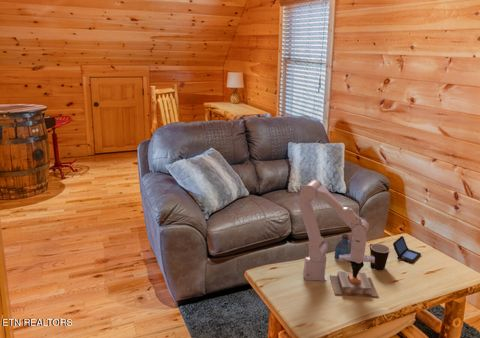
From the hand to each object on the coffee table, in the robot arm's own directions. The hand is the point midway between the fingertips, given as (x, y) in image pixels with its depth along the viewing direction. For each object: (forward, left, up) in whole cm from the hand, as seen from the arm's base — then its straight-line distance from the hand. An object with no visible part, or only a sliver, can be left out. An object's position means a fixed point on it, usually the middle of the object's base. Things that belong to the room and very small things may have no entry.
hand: (354, 275), depth 175 cm
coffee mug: (+15, +19, -6) cm, 25 cm away
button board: (0, 0, -5) cm, 5 cm away
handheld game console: (+32, +30, -6) cm, 44 cm away
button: (0, 0, -3) cm, 3 cm away
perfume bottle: (0, +25, -6) cm, 26 cm away
